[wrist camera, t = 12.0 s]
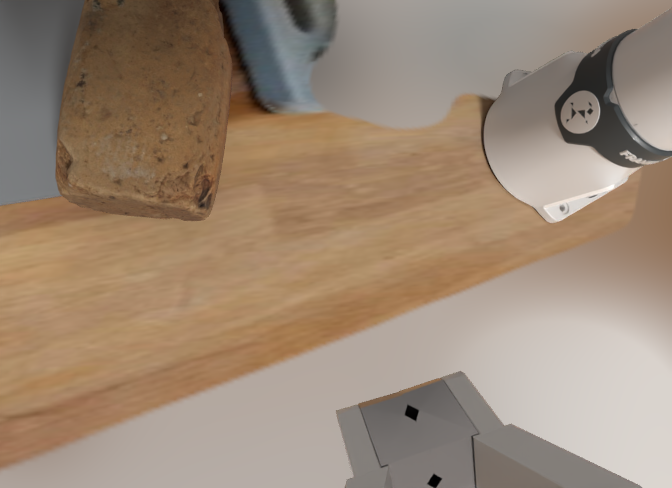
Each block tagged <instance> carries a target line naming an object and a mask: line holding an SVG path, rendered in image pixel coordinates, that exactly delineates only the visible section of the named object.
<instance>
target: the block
mask: <svg viewBox="0 0 672 488" xmlns="http://www.w3.org/2000/svg"><path fill="white" fill-rule="evenodd" d="M218 2H219V0H85V1H84V5H83V9H82V13H81V17H80V22H79V26H78V29H77V33H76V37H75V41H74V45H73V49H72V52H71V58H70V63H69V66H68V71H67V76H66V79H65V83H64V89H63V95H62V102H61V108H60V116H59V123H58V129H57V148H56V169H55V178H56V182H57V187H58V191H59V193H60V195H62V196H63V197H64V198H66V199H67V200H68V201H69V202H72V203H75V204H77V205H79V206H80V207H84V208H90V209H93V210H97V211H102V212H106V213H112V214H119V215H127V216H140V217H151V218H157V219H170V218H177V219H181V220H184V221H201V220H205V219H206V218H207V217H208V216H209V215H210V212H211V210H212V207H213V204H214V201H215V197H216V193H217V189H218V184H219V179H220V173H221V168H222V162H223V156H224V149H225V142H226V133H227V124H228V116H229V108H230V97H231V89H232V59H231V56H230V52H229V47H228V45H227V42H226V40H225V38H224V29H223V19H222V13H221V12H220V10H219V6H218Z"/></svg>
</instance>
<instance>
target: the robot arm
mask: <svg viewBox="0 0 672 488" xmlns="http://www.w3.org/2000/svg"><path fill="white" fill-rule="evenodd" d="M484 145H485V151H486V155H487V158H488V161H489V164H490V166H491V168H492V170H493V172H494V174H495V176H496V177H497V179H498V180H499V182H500V183H501V184H502V185H503V187H504V188H505V189H506V190H507V191H508V192H509V193H511V194H512V195H513V196H514V197H516V198H517V199H519V200H521V201H523V202H525V203H527V204H529V205H531V206H532V207H534V208H535V209H536V210H537V212H538V213H539V214H540V215H541V216H542V217H543V218H544V219H545V220H546V221H548V222H549V223H555V222H558V221H561V220H563V219H564V218H566V217H568V216H569V215H571V214H573V213H574V212H576V211H578V210H579V209H581V208H583V207H585V206H586V205H588V204H590V203H591V202H593V201H595V200H596V199H598V198H600V197H601V196H603V195H605V194H606V193H608V192H610V191H611V190H613V189H615V188H616V187H618V186H620V185H622V184H623V183H625V182H626V181H627V179H628V176H629V175H631V174H632V173H633V172H635V171H636V170H638V169H639V168H641V167H642V166H644V165H647V164H654V163H657V162H660V161H663V160H666V159H668V158H669V157H672V8H670V9H669V10H667V11H666V12H664V13H663V14H661V15H660V16H658V17H656V18H655V19H653V20H652V21H650V22H649V23H647V24H645V25H644V26H642V27H641V28H639V29H632V30H628V31H626V32H624V33H622V34H620V35H618V36H615V37H613V38H611V39H609V40H607V41H606V42H604V43H602V44H601V45H600V46H598V48H596V49H595V50H593V51H592V52H590V53H588V54H586V53H583V52H574V51H568V52H566V53H564V54H562V55H561V56H559V57H557V58H556V59H553V60H552V61H550V62H548V63H547V64H545V65H543V66H541V67H540V68H538V69H536V70H535V71H533V72H528V71H523V70H514V71H512V72H510V73H508V74H507V75H506V77H505V79H504V83H503V87H502V92H501V94H500V96H499V97H498V98H497V99H496V101H495V102H494V103H493V105H492V106H491V108H490V109H489V112H488V114H487V117H486V120H485V125H484ZM336 414H337V419H338V422H339V426H340V430H341V434H342V438H343V441H344V445H345V449H346V453H347V457H348V460H349V464H350V468H351V472H352V476H353V478H350V479H348V480H347V482H346V485H345V488H642V487H641V486H639V485H638V484H635V483H633V482H631V481H629V480H627V479H625V478H623V477H621V476H619V475H617V474H615V473H612V472H611V471H608V470H606V469H604V468H602V467H600V466H598V465H596V464H594V463H592V462H590V461H588V460H585V459H583V458H581V457H579V456H577V455H575V454H573V453H571V452H569V451H567V450H565V449H562V448H560V447H558V446H556V445H554V444H552V443H550V442H548V441H546V440H544V439H542V438H540V437H537V436H535V435H533V434H531V433H529V432H527V431H525V430H523V429H521V428H519V427H517V426H515V425H512V424H509V425H505V426H504V425H503V423H502V422H501V421H500V419H499V418H498V417H497V415H496V414H495V413H494V411H493V410H492V409H491V407H490V406H489V405H488V403H487V402H486V401H485V400H484V398H483V397H482V396H481V395H480V393H479V392H478V390H477V389H476V388H475V387H474V385H473V384H472V382H471V381H470V380H469V379H468V377H467V376H466V375H465V373H463V372H461V371H459V372H456V373H453V374H450V375H448V376H444V377H441V378H440V379H439V378H438V379H435V380H432V381H429V382H426V383H423V384H420V385H417V386H414V387H411V388H408V389H405V390H402V391H399V392H397V393H393V394H390V395H387V396H383V397H380V398H376V399H373V400H370V401H366V402H362V403H359V404H358V405H354V406H350V407H347V408H343V409H340V410H336Z"/></svg>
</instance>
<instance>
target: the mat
mask: <svg viewBox="0 0 672 488" xmlns="http://www.w3.org/2000/svg"><path fill="white" fill-rule="evenodd" d="M84 1H85V0H0V205H7V204H13V203H20V202H26V201H33V200H39V199H46V198H52V197H58V196H62V195H60V193H59V191H58V187H57V182H56V178H55V169H56V148H57V129H58V123H59V116H60V108H61V102H62V95H63V89H64V83H65V79H66V76H67V71H68V66H69V63H70V58H71V52H72V49H73V45H74V41H75V37H76V33H77V29H78V26H79V22H80V17H81V13H82V9H83V5H84Z"/></svg>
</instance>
